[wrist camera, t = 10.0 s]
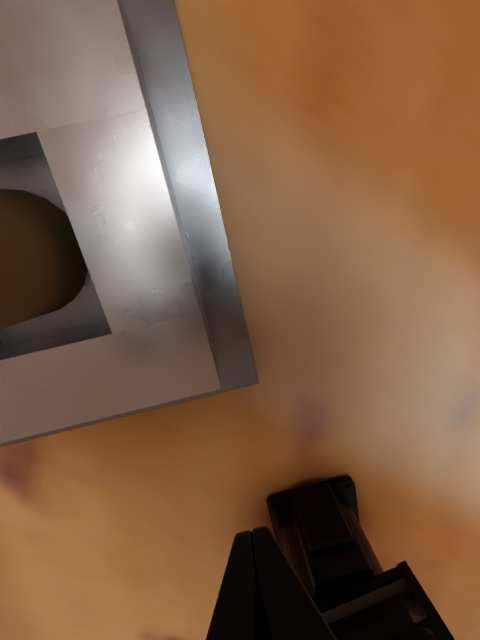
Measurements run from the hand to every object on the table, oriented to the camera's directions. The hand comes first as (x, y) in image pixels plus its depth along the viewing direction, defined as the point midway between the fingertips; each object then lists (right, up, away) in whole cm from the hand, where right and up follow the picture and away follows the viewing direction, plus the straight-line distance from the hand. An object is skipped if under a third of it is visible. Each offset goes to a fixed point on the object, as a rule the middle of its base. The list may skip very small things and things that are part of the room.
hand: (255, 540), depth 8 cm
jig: (-11, +9, +8) cm, 17 cm away
